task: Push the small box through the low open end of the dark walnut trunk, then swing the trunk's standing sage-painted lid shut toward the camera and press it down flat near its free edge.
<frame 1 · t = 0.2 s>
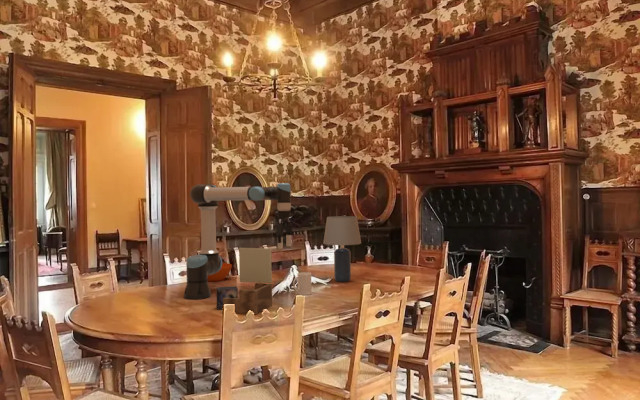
hand: (284, 247, 292), 28 cm above the table, fingers open, 13 cm apart
trunk: (248, 309, 262), on the table
lid: (255, 265, 271), point 21 cm above the table, hinge at 90.0°
mug: (302, 294, 299), on the table
bowl: (213, 280, 353), on the table
small box: (227, 308, 265), on the table
lamp: (342, 281, 341), on the table
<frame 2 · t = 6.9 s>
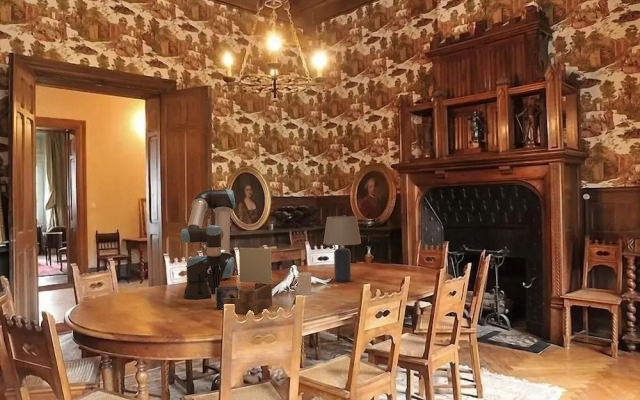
hand: (214, 300, 267), 4 cm above the table, fingers closed
small box: (227, 308, 265), on the table, touching gripper
everything else where it was.
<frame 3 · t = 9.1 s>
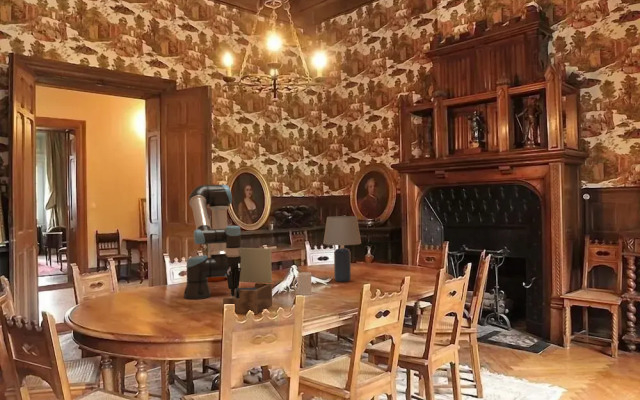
hand: (233, 301, 264), 3 cm above the table, fingers closed
small box: (247, 309, 262), on the table
everything else where it was.
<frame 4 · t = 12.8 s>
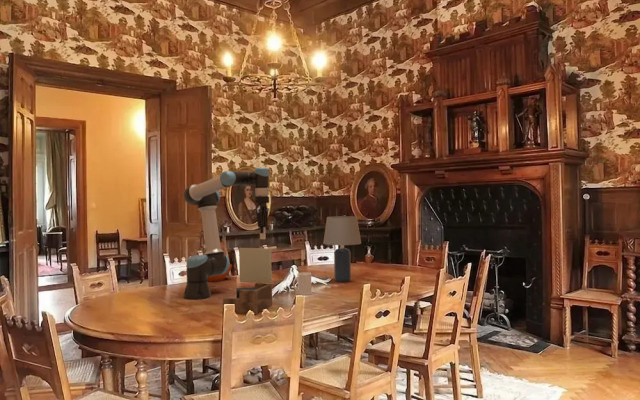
hand: (262, 239, 280), 34 cm above the table, fingers closed
nothing on the table moved.
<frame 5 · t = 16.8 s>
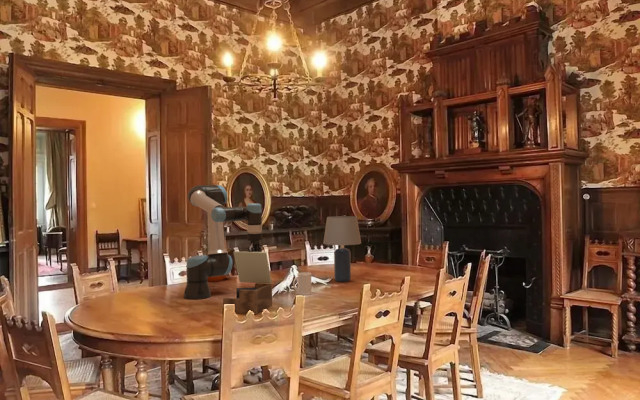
hand: (255, 277, 271), 15 cm above the table, fingers closed
lid: (252, 267, 267), point 21 cm above the table, hinge at 68.2°, touching gripper
everything else where it was.
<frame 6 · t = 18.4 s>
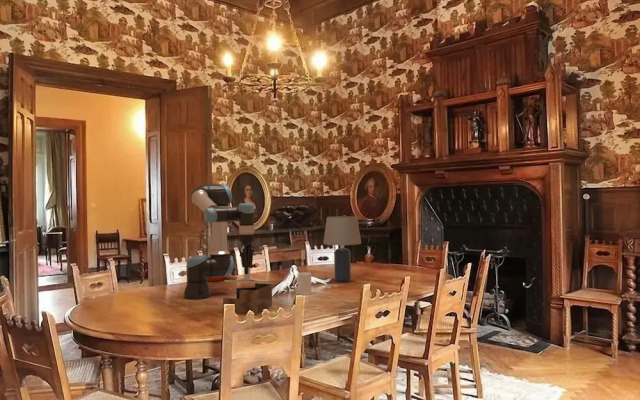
hand: (247, 280, 261), 15 cm above the table, fingers closed
lid: (248, 281, 262), point 14 cm above the table, hinge at 10.9°
everything else where it was.
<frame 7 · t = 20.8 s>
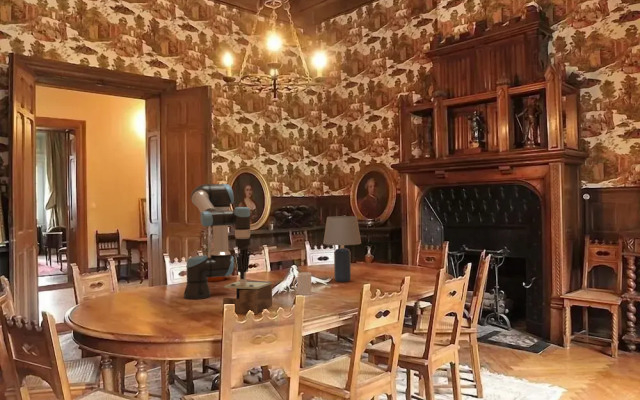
hand: (243, 285, 256), 13 cm above the table, fingers closed
lid: (248, 284, 262), point 13 cm above the table, hinge at 1.4°
everything else where it was.
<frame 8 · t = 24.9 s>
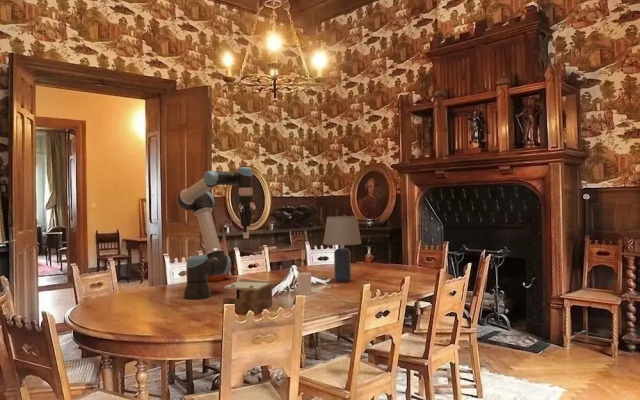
hand: (246, 238, 283), 34 cm above the table, fingers closed
lid: (248, 284, 262), point 12 cm above the table, hinge at -0.1°
everything else where it was.
at the end: small box inside the target area (0.2 cm from its centre), on the table; lid at +0° (first picture: +90°) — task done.
